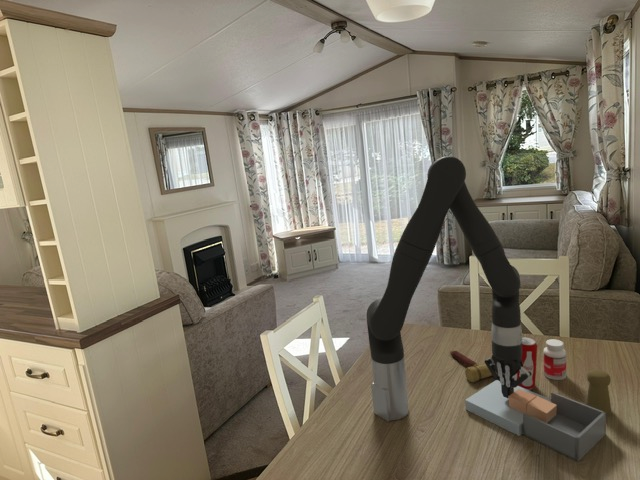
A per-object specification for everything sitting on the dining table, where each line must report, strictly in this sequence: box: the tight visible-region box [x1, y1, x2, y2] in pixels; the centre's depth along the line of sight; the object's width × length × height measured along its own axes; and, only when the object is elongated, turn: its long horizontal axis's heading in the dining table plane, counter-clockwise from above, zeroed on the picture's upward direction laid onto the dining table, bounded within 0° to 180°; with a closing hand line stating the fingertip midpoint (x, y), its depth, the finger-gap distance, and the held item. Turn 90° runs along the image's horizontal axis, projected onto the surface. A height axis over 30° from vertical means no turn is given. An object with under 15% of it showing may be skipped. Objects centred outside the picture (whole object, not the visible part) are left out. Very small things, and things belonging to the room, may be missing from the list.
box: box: [522, 391, 607, 463], centre depth 107 cm, size 14×13×6 cm
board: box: [464, 379, 551, 437], centre depth 119 cm, size 16×16×3 cm
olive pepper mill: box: [584, 368, 613, 417], centre depth 114 cm, size 6×6×11 cm
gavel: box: [449, 350, 498, 383], centre depth 145 cm, size 21×5×10 cm
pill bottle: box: [542, 338, 567, 381], centre depth 132 cm, size 6×6×11 cm
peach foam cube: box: [508, 389, 537, 414], centre depth 115 cm, size 5×5×3 cm
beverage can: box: [515, 336, 538, 391], centre depth 128 cm, size 6×6×15 cm
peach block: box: [527, 396, 557, 423], centre depth 111 cm, size 5×5×3 cm
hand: (507, 396), depth 119 cm, fingers closed
